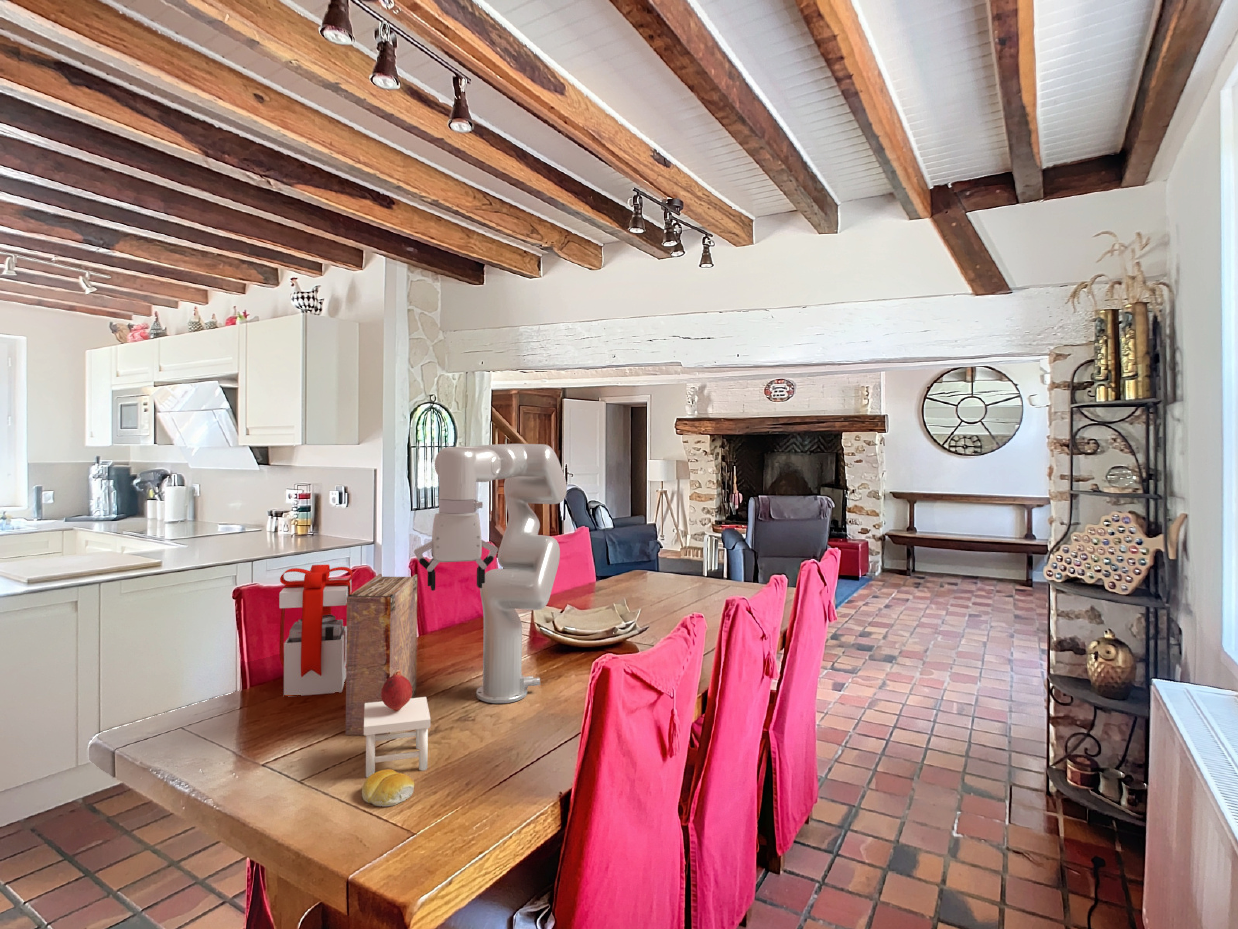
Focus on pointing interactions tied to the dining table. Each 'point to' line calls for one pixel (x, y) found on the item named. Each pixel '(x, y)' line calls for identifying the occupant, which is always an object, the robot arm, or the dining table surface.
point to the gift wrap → (314, 632)
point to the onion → (396, 691)
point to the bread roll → (387, 788)
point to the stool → (388, 720)
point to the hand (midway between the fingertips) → (456, 588)
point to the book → (379, 642)
